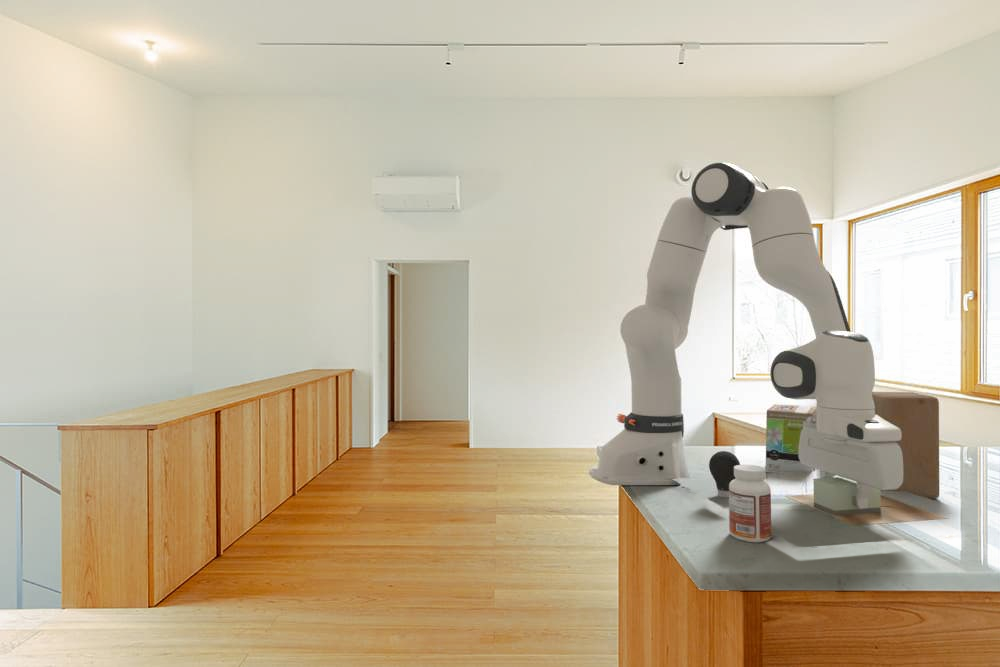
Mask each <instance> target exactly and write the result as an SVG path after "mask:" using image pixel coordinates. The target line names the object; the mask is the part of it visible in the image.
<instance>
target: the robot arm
mask: <svg viewBox="0 0 1000 667" xmlns="http://www.w3.org/2000/svg"><path fill="white" fill-rule="evenodd" d="M690 190H691V191H690V192H691V196H683V197H680V198H678V199H676V200H675V201H674V202H673V203H672V204H671V206H670V208H669V210H668V212H667V215H666V216H665V219H664V221H663V223H662V226H661V228H660V231H659V233H658V236H657V239H656V241H655V242H656V243H655V246H654V249H653V253H652V256H651V259H650V262H649V266H648V269H647V273H646V279H647V280H646V281H647V287H646V295H645V296H646V297H645V303H644V304H642V305H638V306H636V307H634V308H633V309H631V310H630V311H628V312H627V313H626V314H625V315H624V317H623V318H622V320H621V322H620V335H621V339H622V341H623V342H624V345H625V346H624V347H625V351H626V356H627V357H626V358H627V362H628V365H629V366H628V367H629V373H630V380H631V381H630V382H631V383H630V384H631V412H630V413H629V414H627V415H625V414H622V413H618V414H617V416H616V420H617V422H618V423H620V424H623V426H624V429H622V430H621V431H620V432H619V433H618V434H616V435H615V436H613V438H612V439H610V440H609V441H608V442H606V443H605V444H603V445H602V447H601V449H600V451H599V452H600V453H599V456H598V462H597V463H598V464H597V465H594V466H590V467H589V469H588V475H589V476H590V477H591V478H592V479H594V480H596V481H597V482H600V483H602V484H605V485H610V486H678V485H681V483H680V482H678V481H676V480H675V479H690V473H689V470H688V466H687V462H686V457H685V449H684V441H683V437H684V434H685V431H684V430H685V425H684V424H685V423H684V421H685V420H684V413H682V377H681V376H680V375H681V374H680V372H679V368H678V362H677V355H676V349H678V348H679V347H680V346H682V344H683V343H684V342H685V340H686V339H687V335H688V333H689V332H688V331H689V324H690V319H691V315H692V314H691V313H692V309H693V303H694V297H695V291H696V287H697V284H698V280H699V276H700V274H701V271H702V267H703V264H704V261H705V257H706V254H707V251H708V248H709V245H710V241H711V239H712V237H713V235H714V233H715V231H717V230H718V229H722V230H723V231H730V230H735V229H737V230H738V229H747V228H748V231H749V234H750V239H751V247H752V253H753V260H754V261H753V262H754V264H755V268H756V271H757V273H758V275H759V277H760V278H761V279H762V280H763V281H764V282H765V283H766V284H768V285H769V286H771V287H773V288H775V289H777V290H779V291H782V292H784V293H786V294H788V295H790V296H792V297H794V298H795V299H796V300H798V301H799V302H800V303H801V304H802V305H803V306H804V307H805V308H806V311H807V312H808V314H809V317H810V321H811V324H812V328H813V332H814V335H815V339H813V340H811V341H809V342H807V343H805V344H804V345H803V344H802V345H799V346H796V347H794V348H791V349H788V350H783V351H781V352H779V353H778V354H777V355H776V356H775V357H774V359H773V361H772V363H771V367H770V371H769V372H770V373H769V374H770V380H771V384H772V386H773V388H774V389H775V390H776V391H777V393H778V394H779V395H780V396H782V397H784V398H786V399H791V400H816V407H817V418H815V417H808V419H806V420H805V421H804V422H803V429H802V431H801V434H800V441H799V454H798V456H799V460H800V462H801V464H803V465H806V466H809V467H813V468H815V470H816V469H817V470H819V478H834V477H836V476H837V477H843V478H847V479H850V480H853V481H856V482H857V488H859V491H858V493H857V496H852V500H853V502H852V504H853V506H855V507H857V508H860V509H865V508H867V507H868V498H869V497H870V495H871V493H872V492H873V490H874V488H877V489H881V491H888V490H892V489H898V488H899V487H900V486H901V485H902V483H903V456H902V451H901V448H900V446H899V445H898V444H897V443H896V442H894V441H900V440H901V437H902V433H901V430H900V429H899V428H898V427H896V426H895V425H893V424H891V423H889V422H887V421H886V420H884V419H883V418H881V417H880V416H878V415H876V414H875V404H874V401H873V398H872V392H874V391H873V390H874V387H875V383H876V378H875V377H876V371H875V370H876V369H875V356H874V350H873V347H872V344H871V341H870V340H869V338H868V337H866V336H865V335H863V334H861V333H858V332H853V331H852V330H851V328H850V325H849V322H848V319H847V315H846V313H845V309H844V306H843V305H844V304H843V303H842V299H841V296H840V293H839V290H838V288H837V285H836V282H835V280H834V279H833V276H832V275H831V274H830V272H829V271H828V270H827V268H826V267H825V265H824V263H823V261H822V259H821V257H820V254H819V251H818V248H817V245H816V241H815V240H816V239H815V235H814V229H813V225H812V221H811V218H810V214H809V211H808V208H807V206H806V203H805V201H804V198H803V196H802V195H801V193H800V192H799V191H798V190H797V189H795V188H791V187H786V186H777V187H772V188H770V189H769V187H768V185H767V184H765V183H764V182H762V181H761V180H760V179H759V178H758V177H756V176H755V175H754V174H752V173H751V172H749V171H747V170H743V169H741V168H739V167H738V166H737V165H734V164H732V163H729V162H714V163H712V164H709V165H707V166H705V167H703V168H702V169H701V170H700V171H699V172H698V173H697V174H696V176H695V177H694V180H693V182H692V185H691V189H690Z"/></svg>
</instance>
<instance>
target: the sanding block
mask: <svg viewBox="0 0 1000 667" xmlns="http://www.w3.org/2000/svg"><path fill="white" fill-rule="evenodd" d="M858 491H859V488H857V482H856V481H853V480H850V479H847V478H843V477H840V476H837V477H836V476H834V477H833V478H821V477H819V478H813V494H814V507H816V508H818V509H821V510H823V511H825V512H828V513H830V514H833V515H847V514H861V513H874V512H881V495H882V494H881V492H882V490H881V489H877V488H874V490H873V492H872V493H871V495H870V497H869V498H868V507H867V508H865V509H860V508H857V507H855V506H853V504H852V502H853V500H852V496H857V493H858Z"/></svg>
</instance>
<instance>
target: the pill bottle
mask: <svg viewBox="0 0 1000 667" xmlns="http://www.w3.org/2000/svg"><path fill="white" fill-rule="evenodd" d="M766 474H767V472H766V467H763V466H760V465H755V464H754V465H753V464H740V465H736V466H734V476H735V479H734V480H732V481H731V482H730V484H729V498H728V504H729V506H728V507H729V508H728V510H729V511H728V512H729V513H728V514H729V517H728V518H729V519H728V520H729V525H728V526H729V534H730V535H731V536H732V537H733V538H735V539H737V540H740V541H743V542H747V543H764V542H767V541H769V540H771V539H772V495H771V494H772V493H771V487H770V484H769V483H768V482H766V481H765V480H764V479H765V478H766V476H767V475H766Z"/></svg>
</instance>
